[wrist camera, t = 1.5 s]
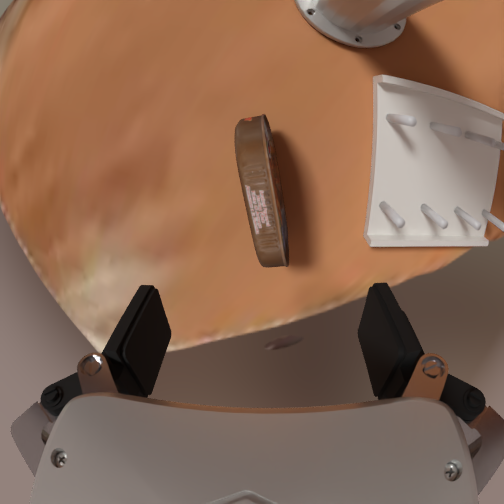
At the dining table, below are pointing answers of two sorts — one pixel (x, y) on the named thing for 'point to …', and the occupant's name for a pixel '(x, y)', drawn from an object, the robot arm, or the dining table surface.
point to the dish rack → (431, 166)
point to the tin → (262, 190)
